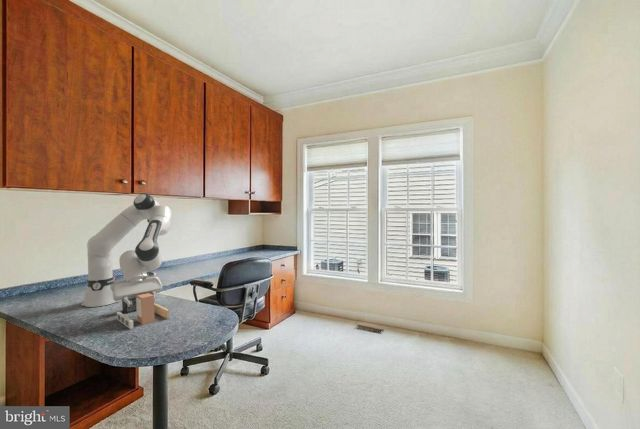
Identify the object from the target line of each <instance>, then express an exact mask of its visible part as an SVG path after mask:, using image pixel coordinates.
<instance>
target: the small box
mask: <svg viewBox="0 0 640 429" xmlns="http://www.w3.org/2000/svg"><path fill="white" fill-rule="evenodd" d="M128 300H129V301H132V303H133V305H132V306H129V307H128V304H127V303H125V302H124V301H123V300H121V304H122V309H121V311H122V312H123V313H125V314H129V313H133V312H136V297H134V298H129V299H128Z"/></svg>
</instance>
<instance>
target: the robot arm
mask: <svg viewBox="0 0 640 429" xmlns="http://www.w3.org/2000/svg"><path fill="white" fill-rule="evenodd" d="M172 218H173V212H172V209H171V207H169V206H167V205H164V204H161V203H160V202H158V201H157V200H156V199H154V197H153V196H152V195H150V194H148V193H141V194H139V195H137V196H136V197H135V199H133V204H131V205H130V206H128V207H127V208H125V209H124V210H122V211H121V212H120V213H119V214H117V215H116V216H115V217H114V218H113V219H112V220H111V221H109V222H108V223H107V224H106V225H105V226H104V227H102V228H101V229H100V230H99V231H98V232H97V233H96V234H95V235H93V236H91V237H90V238H89V239H88V241H87V243H86V244H87V247H86V248H87V277H88V280H87V283H86V284H87V288H86V289H85V290H84V296H83V297H84V299H83V301H84V302H82V303H81V304H80V305H81V307H82V306H83V307H87V308H95V307H96V308H97V307H101V306H102V307H103V306H107V305H111V304H115V303H119V302H122V300H123V301H124V302H125V303H127V304H128V307H129V306H132V305H133V303H132V301H129V300H128V299H129V298H134V297H136V295H139V294H144V293H150V294H152V295H154V302H155V300H156V294H159V293H161V292H162V290H163V284H162V282H161V279H160V278H159V277H157V273H156V272H155V271H156V270H158V269H159V268H160V267H161V265H162V263H163V261H162V257H161V253H160V247H159V243H158V239H159V237H160V236H164V235H166V234H168V232H169V230H170V227H171V226H172ZM144 220H146V222H147V223H148V224H147V226H146V229H145V232H144V234H143V237H142V239H141V240H140V241H139V242H138V244H136V246H135V248H134V250H133V249H129V250H126V251H124V252H122V254H120V255H119V268H120V271H121V273H122V279H123V280H120V281H115V279H116V278H115V275H113V257H112V250H113V249H114V248H115V246H117V244H118V243H120V242H121V241H122V239H124V238H125V237H126V236H127V235H128V234H129V233H130V232H131V231H133V229H134V228H136V227H137V225H138V224H140V223H141V222H142V221H144Z"/></svg>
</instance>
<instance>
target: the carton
mask: <svg viewBox="0 0 640 429" xmlns="http://www.w3.org/2000/svg"><path fill="white" fill-rule="evenodd" d="M154 303H155V301H154V295H152V294H150V293H144V294H139V295H136V311H135V312H136V321H137V322H138V323H139V324H141V325H146V324H150V323H154V322H155V321H156V320H155V319H156V318H155V317H156V316H155V314H156V313H155V312H154Z"/></svg>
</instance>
